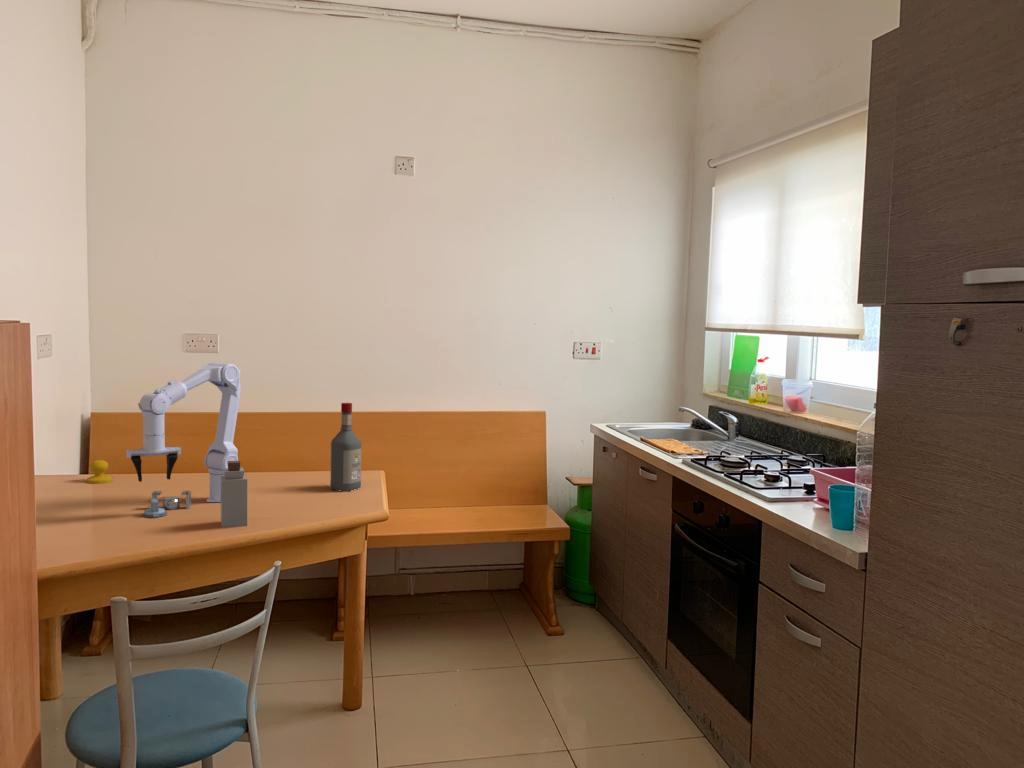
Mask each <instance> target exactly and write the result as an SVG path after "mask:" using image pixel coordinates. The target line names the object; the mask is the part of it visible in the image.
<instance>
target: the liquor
mask: <svg viewBox="0 0 1024 768" xmlns="http://www.w3.org/2000/svg"><path fill="white" fill-rule="evenodd" d="M340 404H341V406H340V407H341V408H340V410H341V411H340V412H341V426H340V430H339V432H338V433H337V434H336V435H335V436H334V437H333V438H332V439H331V442H330V477H329V479H330V481H329V483H330V484H329V485H330V488H331V490H332V489H335V490H334V491H336V490H341V491H340V492H342V491H348V492H352V491H351V490H354V489H357V490H359V489H358V488H361V486H362V482H361V481H362V442H361V439H360V438H359V437H358V436H357V435H356V434H355V432H354V431H353V428H352V413H353V403H352V402H341V403H340ZM354 491H355V490H354Z"/></svg>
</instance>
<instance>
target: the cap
mask: <svg viewBox="0 0 1024 768" xmlns="http://www.w3.org/2000/svg"><path fill="white" fill-rule="evenodd" d="M159 506H160V505H159V501H158V498H157V499H156V498H155V499H152V498H150V507H149V508H147V509H145V510H144V511H143V513H144V515H146V516H153V517H156V518H160V517H159V515H163V514H165V511H166V510H165V509H163V507H159Z"/></svg>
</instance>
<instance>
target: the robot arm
mask: <svg viewBox="0 0 1024 768" xmlns="http://www.w3.org/2000/svg"><path fill="white" fill-rule="evenodd" d="M241 374H242V373H241V370H240V369H239V368H238V367H237V365H235V364H233V363H221V362H215V361H212V362H211V361H210V362H209V363H207V364H204V365H202V366H201V368H200V369H198V370H197V371H196V372H194V373H192V374H190V375H189V376H186V378H184V379H183V380H181V381H179V380H170V381H167V384H166V385H164V386H162V387H160V388H156V389H155V390H154V391H153V393H149V392H148V393H144V395H142V397H141V398H140V401H139V402H138V403H137V405H138V409H139V410H140V411H141V416H142V431H143V433H142V434H143V435H142V436H143V437H142V439H143V444H142V446H143V448H137V449H136V448H135V449H126V458H129V459H130V460H131V461H132V463H133V466H134V468H135V470H136V475H137V479H138V482H139V483H140V482H142V481H143V475H142V457H151V456H152V457H155V456H165V457H166V479H167V480H171V475H172V472H173V468H174V466H175V464H176V462H177V460H178V457H179V456H178V455H182V448H181V446H177V447H174V446H173V447H170V446H167V447H166V445H165V444H166V443H165V437H166V436H165V435H166V434H165V430H166V429H165V413H167V412H168V409H169V408H170V406H172V405H173V404H175V403H177V402H179V401H181V400H182V399H184V398H186V397H187V396H186V395H187V392H188V391H190V390H192V389H194V388H196V387H199V386H200V385H203V384H204V383H206V382H209V383H210V384H212V385H214V386H216V387H217V388H218V390H219V391H220V392H221V400H220V408H219V414H218V418H217V419H218V420H217V425H216V432H215V439H214V441H213V442H212V443H211V444H210V445H209V446H208V449H207V453H206V455H204V456H205V457H204V465H205V467H206V468H207V470H208V472H209V497H208V498H207V500H206V501H205V502H206V503H221V476H225V474H224V469H223V468H228V461H240V460H239V458H238V457H239V456H238V454H239V450H238V448H237V447H236V446H235V444H234V437H235V432H236V427H237V426H236V425H237V419H238V413H239V405H240V399H241V395H242V394H241V393H242V385H241V381H240V379H241V376H242V375H241Z"/></svg>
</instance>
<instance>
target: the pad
mask: <svg viewBox="0 0 1024 768" xmlns="http://www.w3.org/2000/svg"><path fill="white" fill-rule="evenodd" d="M168 514H169V513H168V511H166V510H165V514H163V515H159V517H158V518H161V517H166V516H168ZM141 517H143V518H147V519H150V518H151V519H152V518H153V519H155V518H157V517H153V516H146V515H144V512H143V513H141Z"/></svg>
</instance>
